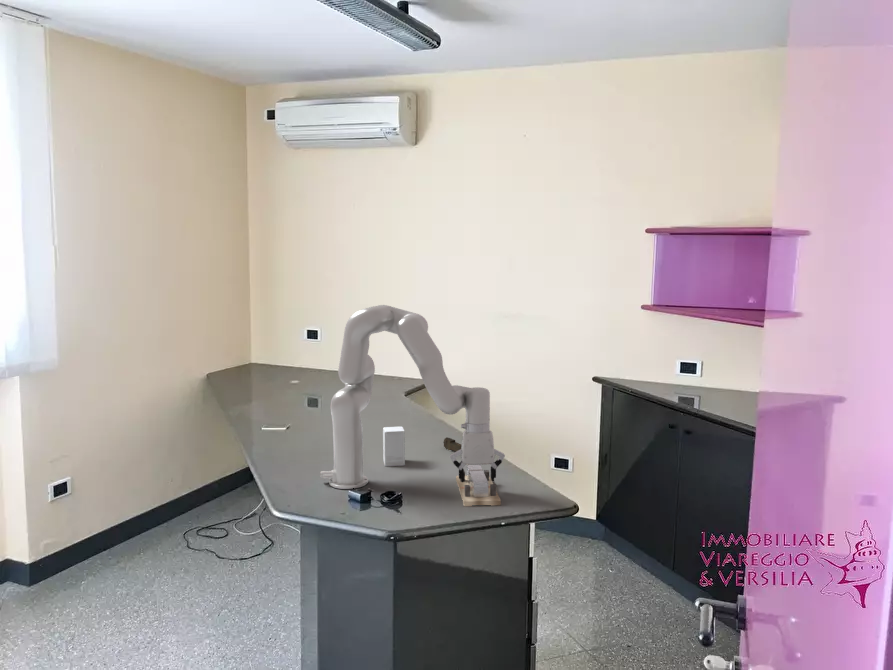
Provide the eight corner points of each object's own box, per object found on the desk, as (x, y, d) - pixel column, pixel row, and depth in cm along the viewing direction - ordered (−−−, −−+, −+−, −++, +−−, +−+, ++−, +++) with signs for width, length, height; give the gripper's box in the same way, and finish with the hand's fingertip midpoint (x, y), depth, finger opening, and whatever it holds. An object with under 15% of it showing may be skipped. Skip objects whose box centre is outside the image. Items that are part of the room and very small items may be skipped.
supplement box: (405, 465, 241) (405, 431, 240) (384, 466, 240) (384, 431, 238) (403, 459, 248) (402, 425, 247) (383, 460, 247) (382, 426, 246)
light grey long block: (473, 497, 204) (473, 483, 204) (466, 478, 222) (466, 465, 222) (488, 497, 205) (488, 482, 204) (480, 477, 223) (480, 464, 222)
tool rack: (464, 506, 201) (464, 491, 201) (456, 480, 225) (456, 467, 225) (500, 505, 202) (500, 490, 202) (488, 479, 226) (489, 466, 225)
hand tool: (478, 458, 250) (478, 446, 250) (469, 460, 248) (469, 447, 248) (449, 447, 266) (449, 435, 266) (441, 448, 264) (441, 437, 263)
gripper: (451, 431, 207) (451, 485, 209) (507, 429, 208) (506, 483, 210) (448, 425, 214) (448, 477, 216) (502, 423, 216) (502, 475, 218)
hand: (477, 480), depth 213 cm, fingers open, 9 cm apart
